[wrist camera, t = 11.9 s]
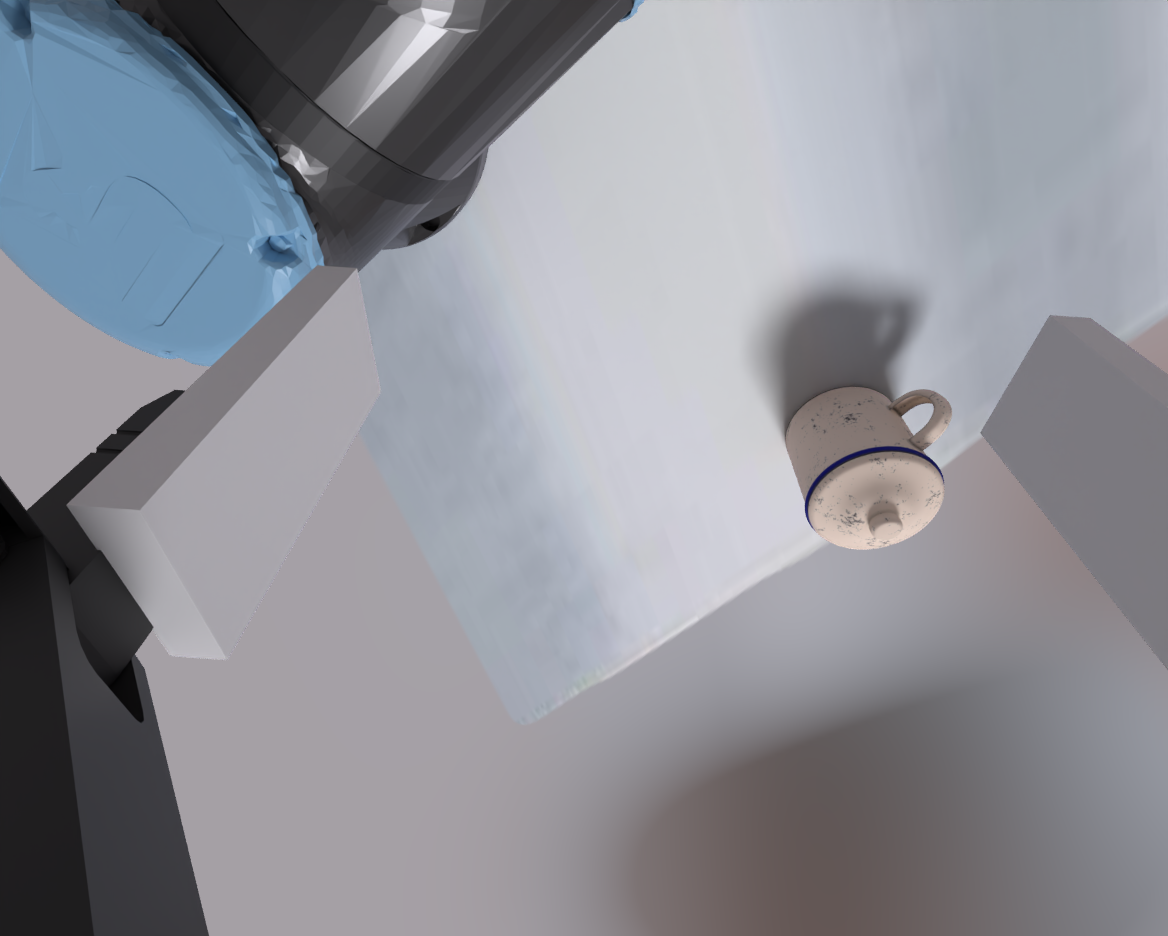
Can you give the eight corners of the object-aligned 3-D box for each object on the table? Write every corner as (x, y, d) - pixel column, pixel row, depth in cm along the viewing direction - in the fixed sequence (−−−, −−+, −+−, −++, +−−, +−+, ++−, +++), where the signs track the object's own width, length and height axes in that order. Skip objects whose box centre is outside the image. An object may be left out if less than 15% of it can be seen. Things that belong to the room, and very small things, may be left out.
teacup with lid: (838, 489, 52) (882, 594, 43) (758, 442, 49) (786, 543, 40) (957, 391, 45) (1039, 490, 36) (872, 330, 43) (937, 421, 34)
